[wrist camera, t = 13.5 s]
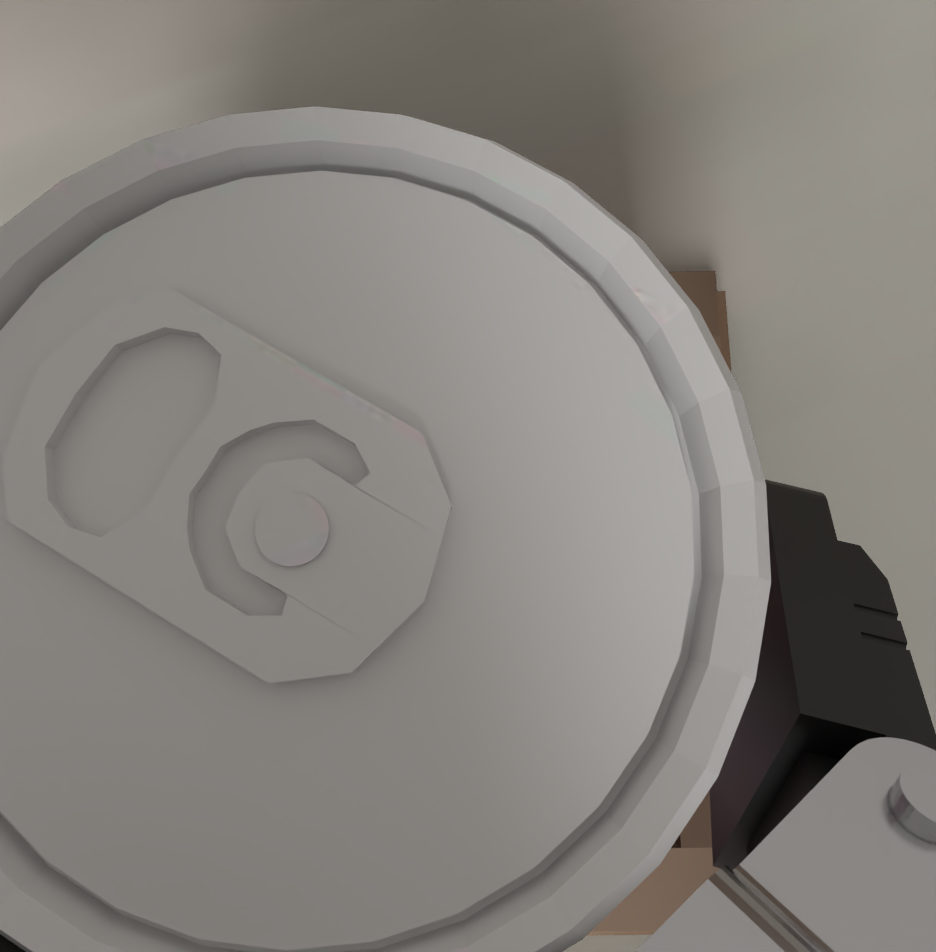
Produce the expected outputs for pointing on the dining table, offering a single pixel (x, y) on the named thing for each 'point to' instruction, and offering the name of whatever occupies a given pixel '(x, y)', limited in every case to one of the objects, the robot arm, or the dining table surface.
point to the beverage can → (356, 548)
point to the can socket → (694, 844)
